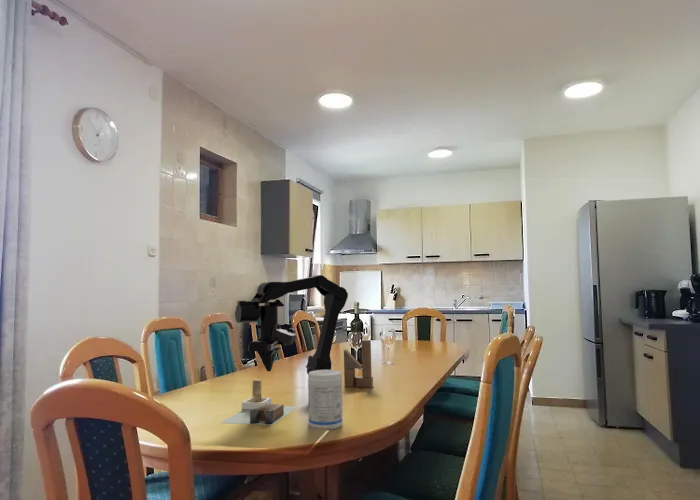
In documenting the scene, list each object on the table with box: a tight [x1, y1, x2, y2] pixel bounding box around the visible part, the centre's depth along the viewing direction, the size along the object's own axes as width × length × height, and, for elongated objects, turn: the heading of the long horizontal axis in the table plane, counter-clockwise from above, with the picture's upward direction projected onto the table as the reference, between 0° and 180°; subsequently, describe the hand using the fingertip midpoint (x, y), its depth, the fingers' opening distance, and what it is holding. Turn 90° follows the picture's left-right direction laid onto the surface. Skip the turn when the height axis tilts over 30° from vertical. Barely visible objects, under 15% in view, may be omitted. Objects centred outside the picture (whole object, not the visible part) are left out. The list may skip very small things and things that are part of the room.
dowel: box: [251, 379, 263, 402], centre depth 151 cm, size 3×3×8 cm
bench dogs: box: [250, 409, 273, 425], centre depth 134 cm, size 7×2×4 cm, turn 77°
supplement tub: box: [307, 369, 344, 431], centre depth 133 cm, size 10×10×15 cm
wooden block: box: [343, 339, 374, 389], centre depth 187 cm, size 4×11×18 cm, turn 75°
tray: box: [241, 396, 272, 411], centre depth 151 cm, size 7×7×2 cm
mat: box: [220, 405, 298, 426], centre depth 143 cm, size 16×21×1 cm
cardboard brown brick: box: [257, 403, 284, 422], centre depth 139 cm, size 6×8×3 cm
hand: (269, 371), depth 150 cm, fingers closed
